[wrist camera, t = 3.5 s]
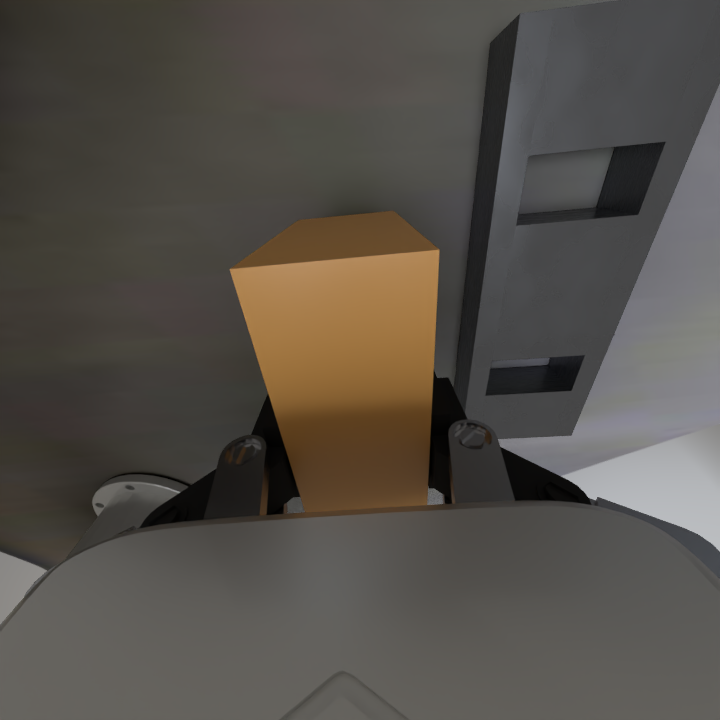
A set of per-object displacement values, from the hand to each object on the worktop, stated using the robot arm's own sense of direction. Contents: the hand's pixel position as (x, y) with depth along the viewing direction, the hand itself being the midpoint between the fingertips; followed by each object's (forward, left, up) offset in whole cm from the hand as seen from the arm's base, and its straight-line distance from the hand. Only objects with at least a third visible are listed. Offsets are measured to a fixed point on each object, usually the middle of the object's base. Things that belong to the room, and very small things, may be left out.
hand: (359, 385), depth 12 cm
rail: (+1, -11, -9) cm, 14 cm away
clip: (0, 0, -4) cm, 4 cm away
